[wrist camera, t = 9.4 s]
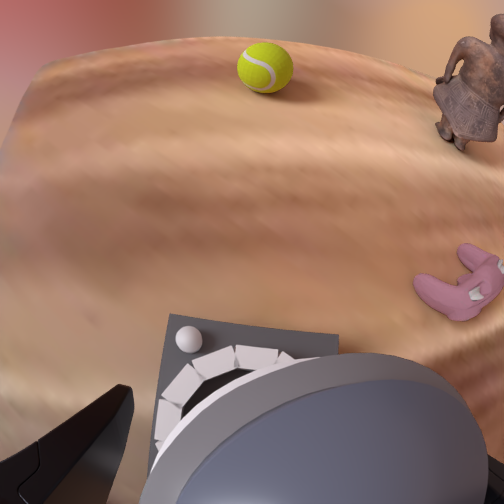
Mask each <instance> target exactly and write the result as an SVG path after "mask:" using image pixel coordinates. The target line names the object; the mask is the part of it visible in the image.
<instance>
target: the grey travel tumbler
mask: <svg viewBox="0 0 504 504" xmlns="http://www.w3.org/2000/svg"><path fill="white" fill-rule="evenodd" d="M487 483H488V455H487V449H486V444H485V441H484V438H483V435H482V432H481V430H480V428H479V426H478V424H477V422H476V420H475V419H474V417H473V415H472V413H471V411H470V409H469V408H468V406H467V404H466V402H465V401H464V399H463V398H462V397H461V395H460V394H459V393H458V392H457V390H456V389H455V388H454V387H453V386H452V385H451V384H450V383H449V382H447V381H446V380H445V379H444V378H443V377H442V376H440V375H438V374H437V373H435V372H434V371H432V370H431V369H429V368H427V367H425V366H423V365H421V364H418V363H416V362H414V361H411V360H407V359H404V358H400V357H397V356H392V355H384V354H377V353H346V354H339V355H331V356H324V357H315V358H305V359H296V360H292V361H287V362H282V363H277V364H274V365H271V366H268V367H265V368H262V369H259V370H255V371H253V372H251V373H249V374H247V375H244V376H242V377H240V378H238V379H235V380H233V381H232V382H230V383H228V384H227V385H225V386H223V387H222V388H220V389H218V390H216V391H215V392H213V393H212V394H211V395H209V396H208V397H207V398H205V399H204V400H203V401H201V402H200V403H199V404H197V405H196V406H195V407H194V408H193V409H192V410H191V411H190V412H189V413H188V414H187V415H186V416H185V417H184V418H183V419H182V420H181V421H180V422H179V423H178V424H177V426H176V427H175V428H174V429H173V431H172V432H171V433H170V434H169V436H168V437H167V439H166V440H165V442H164V444H163V445H162V447H161V449H160V451H159V452H158V454H157V456H156V459H155V461H154V464H153V467H152V469H151V472H150V475H149V477H148V479H147V481H146V484H145V486H144V489H143V492H142V494H141V497H140V501H139V504H484V500H485V495H486V490H487Z"/></svg>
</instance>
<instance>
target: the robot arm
mask: <svg viewBox="0 0 504 504" xmlns="http://www.w3.org/2000/svg"><path fill="white" fill-rule="evenodd" d="M133 413H134V398H133V391H132V388H131V387H130V386H126V385H122V384H118V385H116V386H115V387H113V388H112V389H110V390H109V391H108V392H106V393H105V394H103V395H102V396H101V397H99V398H98V399H96V400H95V401H94V402H92V403H91V404H89V405H88V406H86V407H85V408H84V409H82V410H81V411H79V412H78V413H76V414H75V415H74V416H72V417H71V418H69V419H68V420H66V421H65V422H63V423H62V424H61V425H59V426H58V427H56V428H55V429H53V430H52V431H50V432H49V433H47V434H46V435H44V436H43V437H41V438H40V439H38V442H37V441H35V442H34V443H32V444H31V445H29V446H28V447H26V448H25V449H23V450H21V451H20V452H18V453H16V454H15V455H13V456H11V457H9V458H7V459H5V460H3V461H1V462H0V504H106V501H107V498H108V496H109V493H110V490H111V487H112V484H113V481H114V479H115V476H116V473H117V470H118V468H119V465H120V462H121V459H122V457H123V454H124V450H125V446H126V442H127V438H128V433H129V429H130V425H131V421H132V417H133ZM487 455H488V454H487ZM484 504H504V464H503V463H501V462H499V461H498V460H496V459H494V458H493V457H491V456H490V455H488V483H487V490H486V495H485V500H484Z"/></svg>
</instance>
